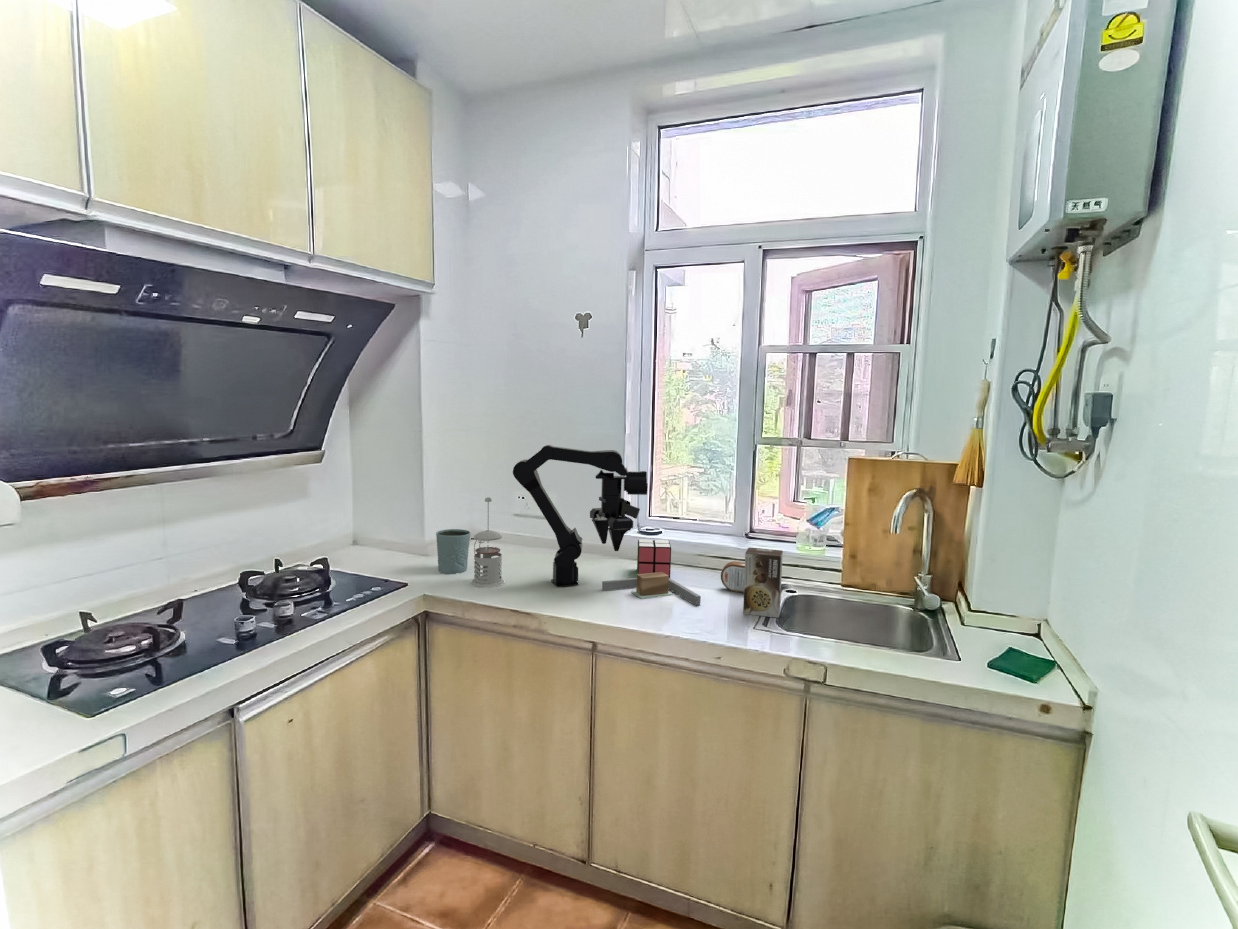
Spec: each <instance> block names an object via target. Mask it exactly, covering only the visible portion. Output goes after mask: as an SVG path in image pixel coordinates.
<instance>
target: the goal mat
mask: <svg viewBox="0 0 1238 929" xmlns="http://www.w3.org/2000/svg"><path fill="white" fill-rule="evenodd" d="M630 592H631V593H632V594H633V595H635V596H636V597H637V596H638V598H639V599H640V598H643V599H649V598H650V599H652V598H658V597H659V596H660V597H668V596H673V595H674V593H673V592H671V591H670V590H668V593H667V594H657V595H647V596H641V595H640V594H639V593H637V592H636V590H630Z"/></svg>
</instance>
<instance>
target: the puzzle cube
mask: <svg viewBox="0 0 1238 929" xmlns="http://www.w3.org/2000/svg"><path fill="white" fill-rule="evenodd" d="M671 545H672V544H671V542H670V540H669V539H645V538H644V539H643V538H639V539H637V555H636V556H637V557H636V558H637V559H636V573H637V574H646V573H657V572H663V573H665V574H667V575H668V576H669V578H670V579H671V570H672V569H671V568H672V567H671V565H672V564H671V563H672V546H671ZM637 574H636V575H637Z"/></svg>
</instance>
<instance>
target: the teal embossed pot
mask: <svg viewBox="0 0 1238 929" xmlns="http://www.w3.org/2000/svg"><path fill="white" fill-rule="evenodd" d="M435 536H436V547H437V548H436V549H437V550H436V551H437V570H438V572H439V573H440V574H443V573H444V574H445V575H457V574H456V573H459V574H463V573H465V572H467V570H468V560H469V550H470V549H469V548H470V541H471V531H469V530H466V529H461V528H460V529H459V528H450V529H442V530H438V531H437V532H435ZM444 574H443V575H444Z"/></svg>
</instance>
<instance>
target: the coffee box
mask: <svg viewBox="0 0 1238 929" xmlns="http://www.w3.org/2000/svg"><path fill="white" fill-rule="evenodd" d="M744 563H745V578H744V593H743V605H742V606H743V610H742V614H743V615H744V614H745V615H752V616H760V617H768V618H769V617H770V618H776V619H777V618H778V619H779V618H780V614H781V599H782V597H781V596H782V579H783V578H782V575H783V574H782V573H783V550H782V549H781V550H780V549H769V548H758V547H748V548H747V549H746V551H745V553H744Z"/></svg>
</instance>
